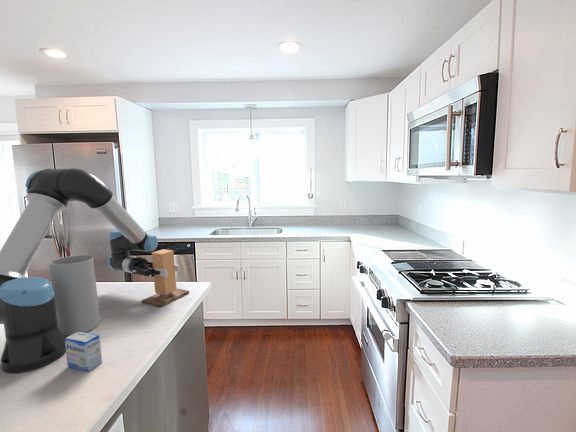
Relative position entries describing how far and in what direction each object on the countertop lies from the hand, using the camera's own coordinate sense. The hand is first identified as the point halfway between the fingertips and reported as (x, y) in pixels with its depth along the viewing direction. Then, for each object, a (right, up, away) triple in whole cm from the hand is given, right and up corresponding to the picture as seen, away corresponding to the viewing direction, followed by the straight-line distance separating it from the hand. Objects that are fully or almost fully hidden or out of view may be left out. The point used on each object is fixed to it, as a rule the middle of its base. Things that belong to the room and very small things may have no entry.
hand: (172, 270), depth 128 cm
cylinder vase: (-25, -17, -21) cm, 37 cm away
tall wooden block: (-4, -10, +4) cm, 11 cm away
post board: (-4, -13, +4) cm, 14 cm away
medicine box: (-8, -19, -43) cm, 48 cm away
